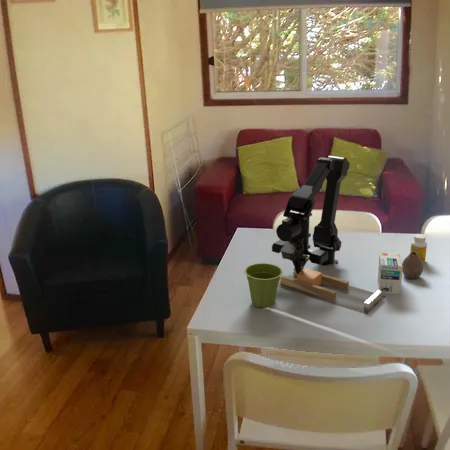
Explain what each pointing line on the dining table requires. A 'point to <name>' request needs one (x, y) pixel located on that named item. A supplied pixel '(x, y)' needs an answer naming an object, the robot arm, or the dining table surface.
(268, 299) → the plant pot
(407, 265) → the vase
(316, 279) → the orange block
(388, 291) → the light bulb box
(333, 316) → the dining table surface
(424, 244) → the supplement bottle
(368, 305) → the stop bar
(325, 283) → the chute
